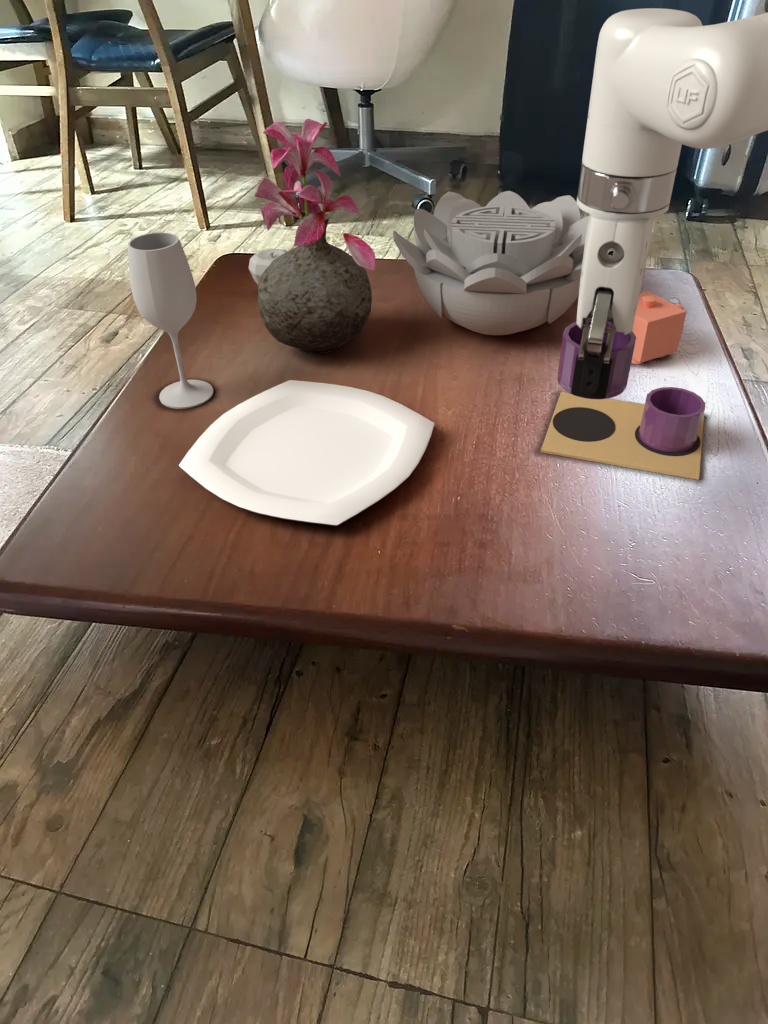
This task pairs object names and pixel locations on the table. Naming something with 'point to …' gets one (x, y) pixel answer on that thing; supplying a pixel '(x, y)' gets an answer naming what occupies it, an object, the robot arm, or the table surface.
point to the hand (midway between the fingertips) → (593, 375)
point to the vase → (312, 255)
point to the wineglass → (166, 304)
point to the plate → (309, 451)
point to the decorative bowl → (498, 260)
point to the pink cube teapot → (656, 327)
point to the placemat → (613, 437)
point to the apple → (263, 261)
